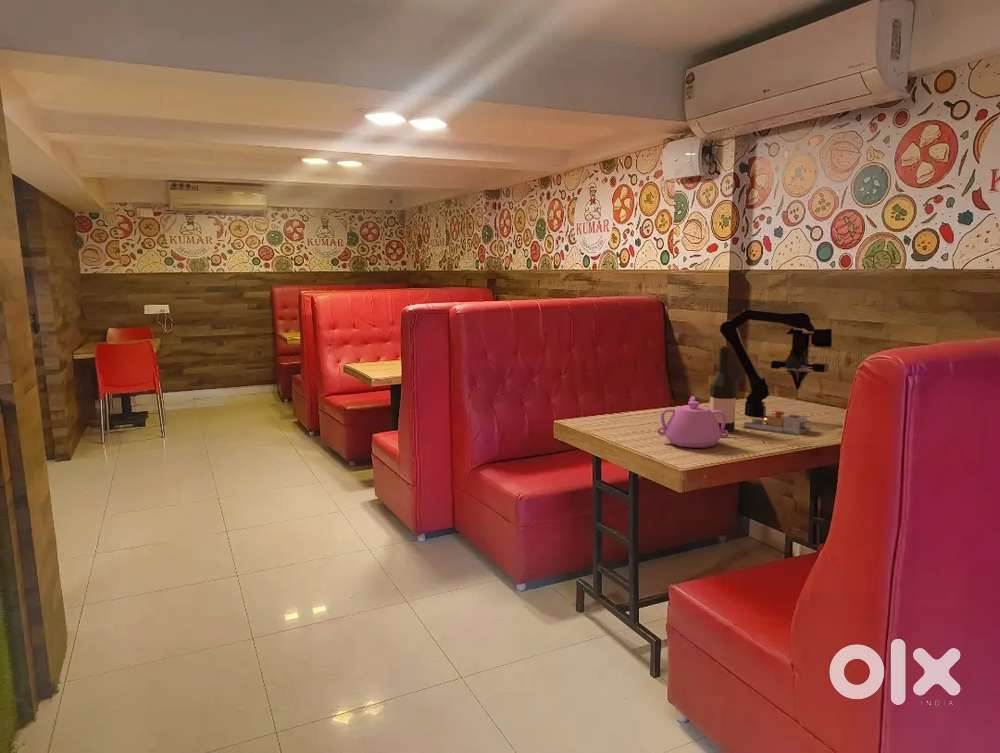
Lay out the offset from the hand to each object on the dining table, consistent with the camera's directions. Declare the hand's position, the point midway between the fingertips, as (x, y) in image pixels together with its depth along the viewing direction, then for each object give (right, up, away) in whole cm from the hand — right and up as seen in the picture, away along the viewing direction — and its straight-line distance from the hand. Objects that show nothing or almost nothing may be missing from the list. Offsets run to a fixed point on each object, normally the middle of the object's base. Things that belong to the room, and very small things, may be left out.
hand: (797, 389), depth 247 cm
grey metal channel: (-14, -14, -14) cm, 25 cm away
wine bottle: (-33, -15, -15) cm, 39 cm away
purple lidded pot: (-47, -17, -28) cm, 57 cm away
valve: (-14, -14, -15) cm, 25 cm away
